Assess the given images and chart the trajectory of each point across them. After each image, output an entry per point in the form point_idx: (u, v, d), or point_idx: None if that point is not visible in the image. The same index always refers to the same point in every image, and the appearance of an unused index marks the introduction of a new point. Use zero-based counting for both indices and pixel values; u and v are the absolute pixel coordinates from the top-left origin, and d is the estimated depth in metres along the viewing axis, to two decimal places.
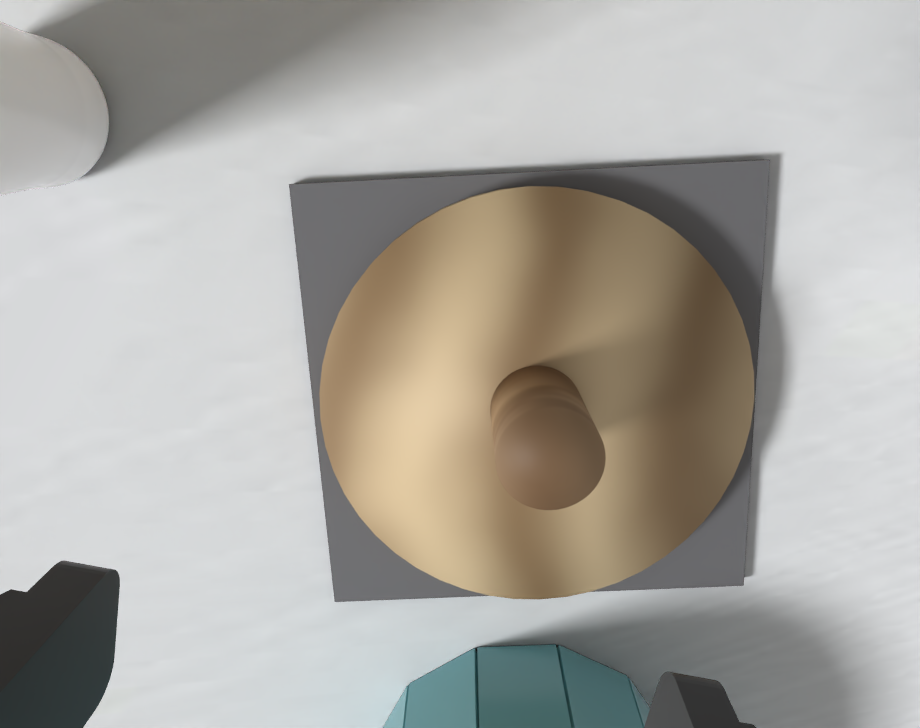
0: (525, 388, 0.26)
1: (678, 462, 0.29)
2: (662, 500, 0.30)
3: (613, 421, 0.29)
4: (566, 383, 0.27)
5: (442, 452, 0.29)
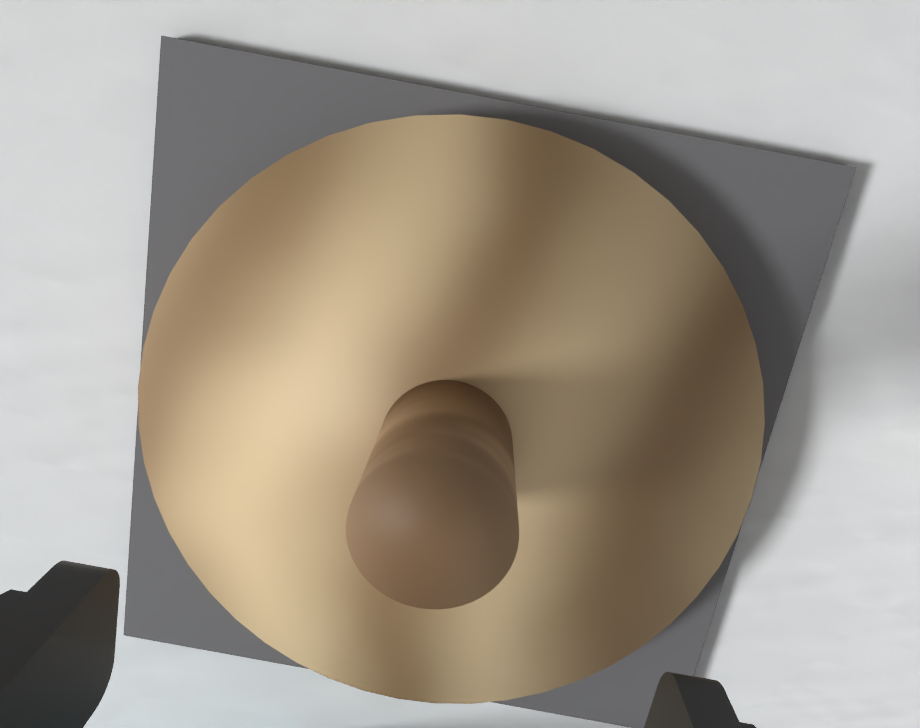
0: (429, 412, 0.17)
1: (627, 560, 0.21)
2: (593, 606, 0.21)
3: (551, 484, 0.20)
4: (493, 417, 0.18)
5: (303, 472, 0.20)
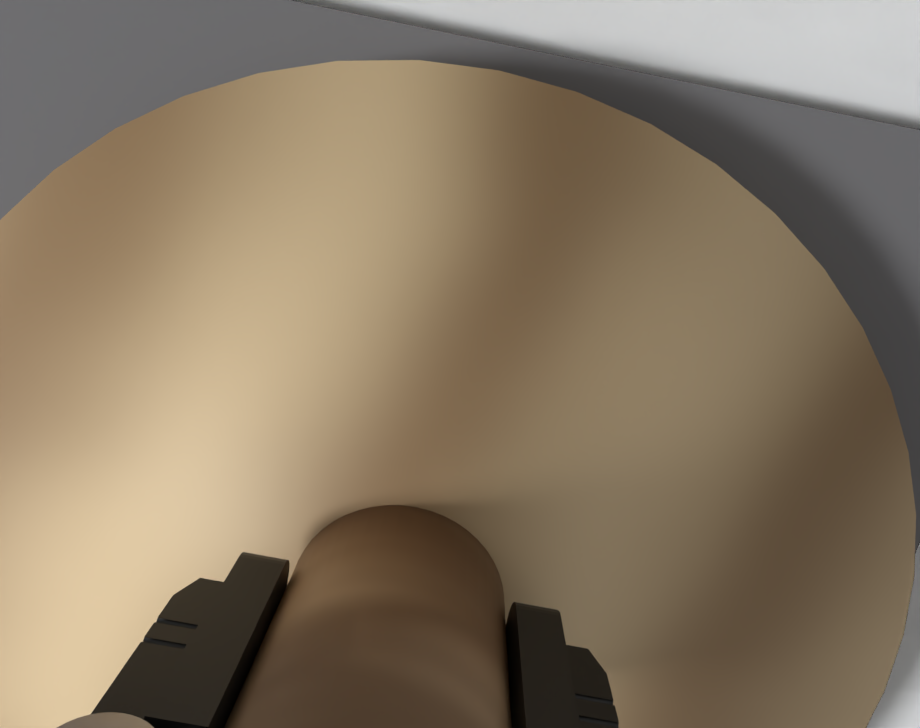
0: (355, 594, 0.09)
1: None
2: None
3: None
4: (472, 585, 0.11)
5: None
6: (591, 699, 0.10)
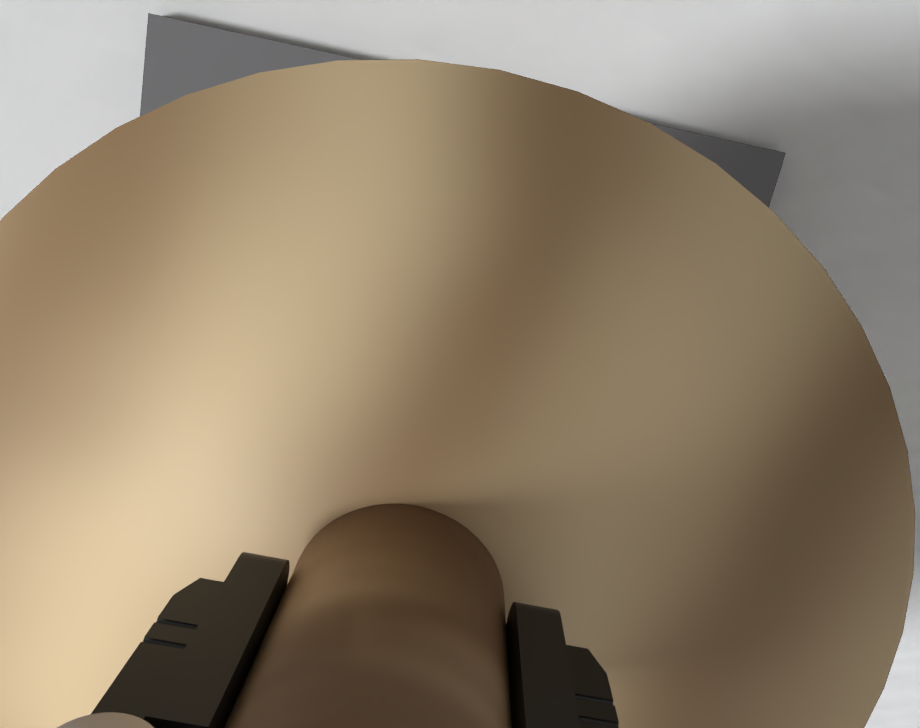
0: (357, 592, 0.09)
1: None
2: None
3: None
4: (472, 583, 0.11)
5: None
6: (591, 699, 0.10)
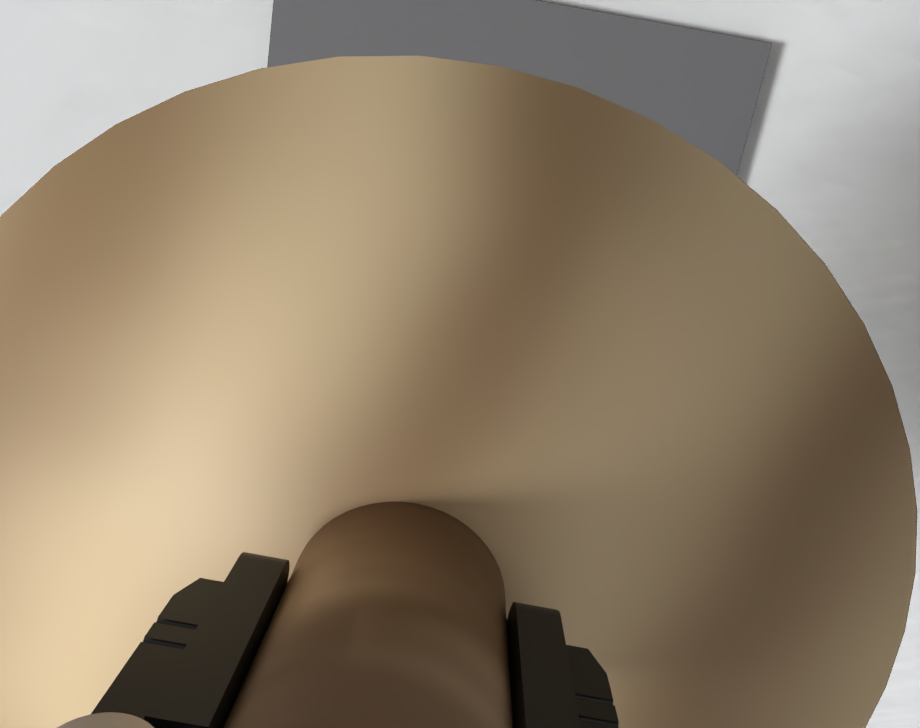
0: (357, 590, 0.09)
1: None
2: None
3: None
4: (473, 581, 0.11)
5: None
6: (591, 699, 0.10)
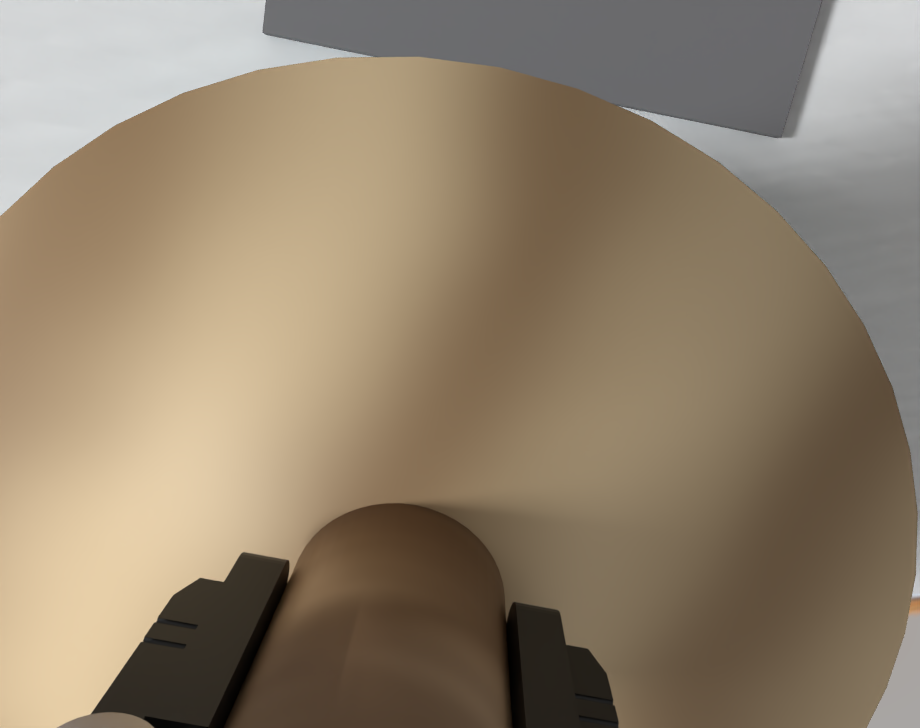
0: (356, 592, 0.09)
1: None
2: None
3: None
4: (473, 583, 0.11)
5: None
6: (591, 699, 0.10)
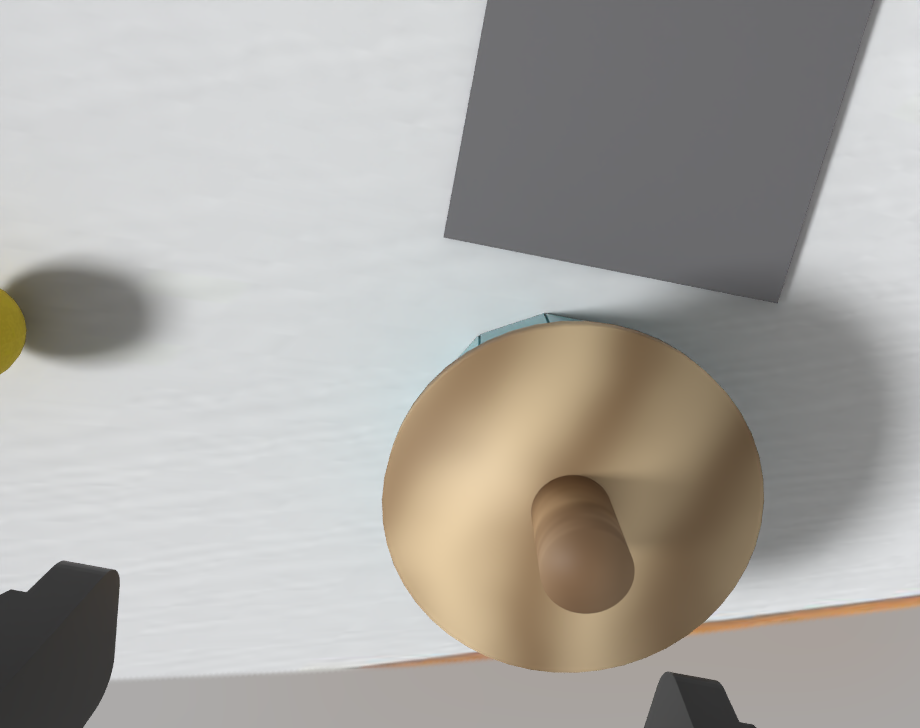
0: (575, 501, 0.30)
1: (679, 582, 0.34)
2: (656, 610, 0.34)
3: (634, 536, 0.33)
4: (606, 501, 0.31)
5: (481, 529, 0.33)
6: None
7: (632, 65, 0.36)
